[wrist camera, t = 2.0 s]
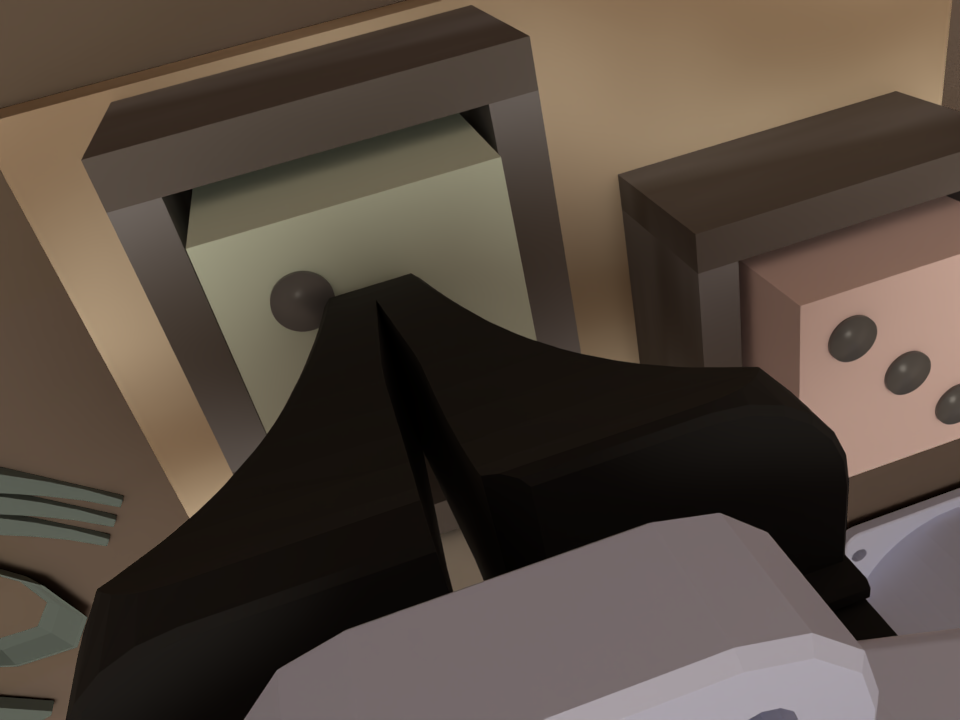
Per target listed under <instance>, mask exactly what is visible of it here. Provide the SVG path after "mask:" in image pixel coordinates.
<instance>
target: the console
mask: <svg viewBox="0 0 960 720" xmlns="http://www.w3.org/2000/svg"><path fill="white" fill-rule="evenodd" d="M951 6H952V0H406V1H402V2H399V3H395V4H391V5H387V6H384V7H380V8H376V9H372V10H369V11H365V12H361V13H357V14H354V15H350V16H346V17H342V18H339V19H335V20H331V21H327V22H324V23H320V24H316V25H312V26H309V27H305V28H301V29H297V30H294V31H290V32H286V33H282V34H279V35H275V36H271V37H267V38H264V39H260V40H256V41H252V42H249V43H245V44H241V45H237V46H234V47H230V48H226V49H222V50H219V51H215V52H211V53H207V54H204V55H200V56H196V57H192V58H189V59H185V60H181V61H177V62H174V63H170V64H166V65H162V66H159V67H155V68H151V69H147V70H144V71H140V72H136V73H132V74H129V75H125V76H121V77H117V78H114V79H110V80H106V81H102V82H99V83H95V84H91V85H87V86H84V87H80V88H76V89H72V90H69V91H65V92H61V93H57V94H54V95H50V96H46V97H42V98H39V99H35V100H31V101H27V102H24V103H20V104H16V105H12V106H9V107H5V108H1V109H0V170H1V172H2V173H3V175H4V177H5V179H6V181H7V183H8V185H9V186H10V188H11V190H12V192H13V194H14V196H15V197H16V199H17V201H18V203H19V205H20V207H21V208H22V210H23V212H24V214H25V216H26V218H27V220H28V221H29V223H30V225H31V227H32V229H33V231H34V232H35V234H36V236H37V238H38V240H39V242H40V243H41V245H42V247H43V249H44V251H45V253H46V255H47V256H48V258H49V260H50V262H51V264H52V266H53V267H54V269H55V271H56V273H57V275H58V277H59V278H60V280H61V282H62V284H63V286H64V288H65V290H66V291H67V293H68V295H69V297H70V299H71V301H72V302H73V304H74V306H75V308H76V310H77V312H78V313H79V315H80V317H81V319H82V321H83V323H84V325H85V326H86V328H87V330H88V332H89V334H90V336H91V337H92V339H93V341H94V343H95V345H96V347H97V348H98V350H99V352H100V354H101V356H102V358H103V360H104V361H105V363H106V365H107V367H108V369H109V371H110V372H111V374H112V376H113V378H114V380H115V382H116V383H117V385H118V387H119V389H120V391H121V393H122V395H123V396H124V398H125V400H126V402H127V404H128V406H129V407H130V409H131V411H132V413H133V415H134V417H135V418H136V420H137V422H138V424H139V426H140V428H141V430H142V431H143V433H144V435H145V437H146V439H147V441H148V442H149V444H150V446H151V448H152V450H153V452H154V453H155V455H156V457H157V459H158V461H159V463H160V465H161V466H162V468H163V470H164V472H165V474H166V476H167V477H168V479H169V481H170V483H171V485H172V487H173V488H174V490H175V492H176V494H177V496H178V498H179V500H180V501H181V503H182V505H183V507H184V509H185V511H186V512H187V514H188V516H189V518H191V517H192V516H193V515H194V514H195V513H196V512H197V511H198V510H199V509H201V508H202V507H203V506H204V505H205V504H206V503H207V502H208V501H209V500H210V499H211V498H212V497H213V496H214V495H215V494H216V493H217V492H218V491H219V490H220V489H221V488H222V487H223V486H224V485H225V484H226V482H227V481H228V480H229V479H230V478H231V477H232V476H233V474H234V473H235V472H236V471H237V470H238V469H239V468H240V466H241V465H242V464H243V463H244V462H245V461H246V460H247V458H248V457H249V456H250V455H251V454H252V453H253V452H254V450H255V449H256V448H257V447H258V445H259V444H260V443H261V442H262V440H263V439H264V437H265V436H266V435H267V433H266V431H265V428H264V426H263V424H262V422H261V419H260V417H259V415H258V413H257V410H256V408H255V406H254V403H253V401H252V399H251V397H250V394H249V392H248V390H247V387H246V385H245V383H244V381H243V378H242V376H241V374H240V372H239V369H238V367H237V365H236V362H235V360H234V358H233V356H232V353H231V351H230V349H229V346H228V344H227V342H226V340H225V337H224V335H223V333H222V330H221V328H220V326H219V324H218V321H217V319H216V317H215V315H214V312H213V310H212V308H211V305H210V303H209V301H208V299H207V296H206V294H205V292H204V289H203V287H202V285H201V283H200V280H199V278H198V276H197V274H196V271H195V269H194V267H193V264H192V262H191V260H190V258H189V255H188V253H187V251H186V242H187V234H188V225H189V216H190V208H191V199H192V190H193V188H196V187H200V186H203V185H207V184H210V183H214V182H217V181H221V180H224V179H228V178H231V177H235V176H238V175H242V174H245V173H249V172H253V171H256V170H260V169H263V168H267V167H270V166H274V165H277V164H281V163H284V162H288V161H291V160H295V159H298V158H302V157H305V156H309V155H312V154H316V153H319V152H323V151H326V150H330V149H333V148H337V147H340V146H344V145H347V144H351V143H355V142H358V141H362V140H365V139H369V138H372V137H376V136H379V135H383V134H386V133H390V132H393V131H397V130H400V129H404V128H407V127H411V126H414V125H418V124H421V123H425V122H428V121H432V120H435V119H439V118H442V117H446V116H449V115H453V114H457V113H459V114H460V115H461V116H462V117H463V118H464V119H465V120H466V121H467V122H468V123H469V124H470V125H471V126H472V127H473V128H474V129H475V130H476V132H477V133H478V134H479V135H480V136H481V137H482V138H483V139H484V140H485V141H486V142H487V143H488V144H489V145H490V146H491V147H492V148H493V149H494V150H495V151H496V152H497V153H498V154H499V155H500V156H501V160H502V165H503V170H504V175H505V180H506V185H507V190H508V196H509V201H510V206H511V211H512V216H513V221H514V226H515V231H516V237H517V242H518V247H519V252H520V257H521V262H522V267H523V272H524V278H525V283H526V288H527V293H528V298H529V303H530V308H531V313H532V319H533V324H534V329H535V334H536V339H537V341H538V342H542V343H545V344H548V345H551V346H554V347H557V348H561V349H564V350H568V351H572V352H576V353H580V354H585V355H591V356H596V357H601V358H606V359H611V360H617V361H624V362H631V363H639V364H649V365H662V366H674V367H742V349H741V320H740V291H739V263H738V261H741V260H744V259H747V258H750V257H753V256H756V255H760V254H763V253H766V252H769V251H772V250H775V249H778V248H782V247H785V246H788V245H791V244H794V243H797V242H800V241H804V240H807V239H810V238H813V237H816V236H819V235H823V234H826V233H829V232H832V231H835V230H838V229H841V228H845V227H848V226H851V225H854V224H857V223H860V222H863V221H867V220H870V219H873V218H876V217H879V216H882V215H886V214H889V213H892V212H895V211H898V210H901V209H904V208H908V207H911V206H914V205H917V204H920V203H923V202H927V201H930V200H933V199H936V198H939V197H942V196H945V195H946V196H948V197H950V198H952V199H955V200H957V201H959V202H960V112H959V111H956V110H953V109H950V108H947V107H944V106H941V104H942V94H943V84H944V74H945V65H946V55H947V45H948V36H949V26H950V16H951ZM423 453H424V452H423ZM424 458H425V463H426V467H427V472H428V477H429V482H430V487H431V491H432V496H433V501H434V506H435V511H436V516H437V521H438V526H439V530H440V534H443V533H446V532H449V531H452V530H455V529H458V528H460V527H459V525H458V523H457V521H456V519H455V517H454V515H453V513H452V511H451V509H450V507H449V504H448V502H447V500H446V498H445V496H444V494H443V492H442V490H441V488H440V486H439V484H438V481H437V479H436V477H435V475H434V473H433V471H432V469H431V467H430V465H429V462H428V460H427V458H426V456H425V454H424Z"/></svg>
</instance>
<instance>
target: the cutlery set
mask: <svg viewBox="0 0 960 720" xmlns="http://www.w3.org/2000/svg"><path fill="white" fill-rule="evenodd" d="M29 495H38V496H49V497H58V498H67V499H75V500H83V501H89V502H94V503H100V504H105V505H111V506H116V507H121V504H122V501H123V495H119V494H116V493H111V492H107V491H103V490H98V489H94V488H90V487H85V486H81V485H77V484H72V483H68V482H64V481H59V480H55V479H51V478H46V477H42V476H38V475H33V474H29V473H25V472H20V471H16V470H12V469H7V468H3V467H0V535H13V536H34V537H44V538H55V539H66V540H73V541H79V542H85V543H91V544H97V545H103V546H107V544H108V541H109V537H110V535H109V534H106V533H102V532H99V531H95V530H90V529H85V528H80V527H75V526H71V525H66V524H61V523H56V522H52V521H47V520H42V519H37V518H33V517H28V516H39V517H49V518H59V519H68V520H77V521H83V522H88V523H94V524H100V525H105V526H111V527H114V524H115V521H116V516H117V515H113V514H110V513H107V512H102V511H97V510H93V509H88V508H84V507H79V506H75V505H70V504H66V503H61V502H57V501H52V500H47V499H43V498H38V497H34V496H29ZM0 576H1V577H5V578H8V579H12V580H16V581H20V582H22V583H23V584H24V585H25V586H27V587H28V588H29V589H30V590H32V591H33V592H34V593H36V594H37V595H38V596H40V597H41V598H42V599H44V600H45V601H46V602H47V604H46V607H45V609H44V612H43V614H42V617H41V619H40V622H39V624H38V627H34V628H31V629H28V630H25V631H22V632H19V633H16V634H13V635H9V636H6V637H3V638H0V667H15V666H21V665H24V664H27V663H30V662H33V661H36V660H39V659H43V658H46V657H49V656H52V655H55V654H58V653H61V652H64V651H67V650H70V649H73V648H77V646H78V643H79V641H80V638H81V635H82V632H83V629H84V626H85V623H86V620H87V617H86V616H85V615H83V614H82V613H81V612H79V611H78V610H76V609H75V608H74V607H72V606H71V605H69V604H68V603H67V602H65V601H64V600H62V599H61V598H60V597H58V596H57V595H55V594H54V593H53V592H51V591H50V590H49V589H47V588H46V587H44V586H43V585H41V584H39V583H37V582H36V581H34V580H32V579H30V578H28V577H27V576H23V575H20V574H16V573H13V572H9V571H6V570H2V569H0ZM53 704H54V701H51V700H37V699H23V698H10V697H0V720H44V719H45V718H47V717H49V716H51V713H52V709H53Z"/></svg>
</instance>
